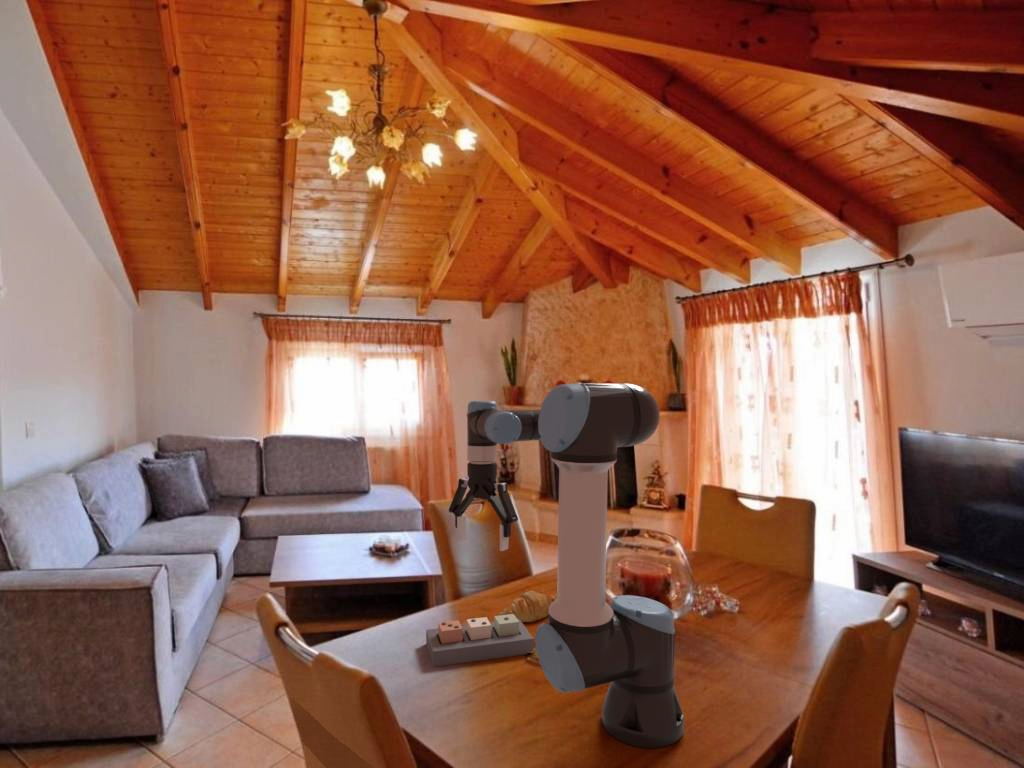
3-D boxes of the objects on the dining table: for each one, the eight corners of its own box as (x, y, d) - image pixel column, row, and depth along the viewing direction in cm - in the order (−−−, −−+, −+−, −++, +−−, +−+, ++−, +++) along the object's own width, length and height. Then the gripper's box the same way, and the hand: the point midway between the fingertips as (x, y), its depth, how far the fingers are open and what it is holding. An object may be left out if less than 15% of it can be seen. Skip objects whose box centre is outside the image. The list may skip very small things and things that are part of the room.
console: (533, 653, 140) (533, 638, 140) (433, 666, 133) (433, 651, 133) (519, 632, 151) (519, 618, 151) (426, 643, 145) (426, 629, 144)
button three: (462, 641, 138) (462, 627, 138) (441, 643, 137) (441, 630, 137) (458, 632, 143) (458, 619, 143) (438, 634, 142) (438, 621, 142)
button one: (519, 634, 142) (519, 621, 142) (499, 636, 141) (499, 623, 141) (513, 625, 147) (513, 613, 147) (494, 628, 146) (494, 615, 146)
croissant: (503, 641, 154) (511, 619, 151) (485, 612, 161) (492, 590, 158) (566, 620, 166) (574, 600, 163) (546, 594, 173) (554, 574, 170)
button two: (491, 637, 140) (491, 624, 140) (470, 640, 139) (470, 626, 139) (486, 629, 145) (486, 616, 145) (466, 631, 144) (466, 618, 144)
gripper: (531, 464, 144) (531, 549, 144) (454, 456, 158) (454, 534, 158) (514, 467, 138) (514, 557, 138) (435, 459, 152) (435, 540, 152)
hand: (482, 545), depth 148 cm, fingers open, 13 cm apart
